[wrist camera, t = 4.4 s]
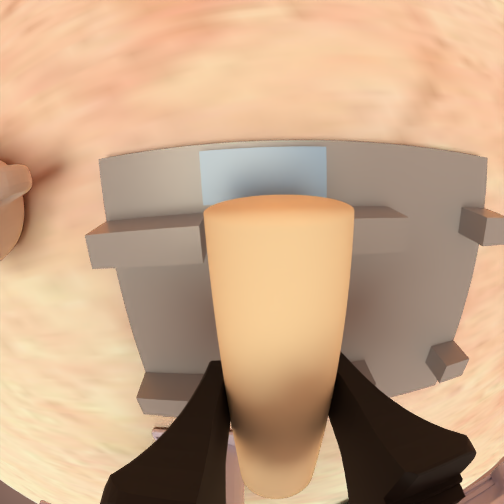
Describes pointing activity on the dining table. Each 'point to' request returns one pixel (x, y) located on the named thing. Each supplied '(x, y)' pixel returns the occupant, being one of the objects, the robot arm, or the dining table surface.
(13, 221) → the cup
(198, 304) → the board
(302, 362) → the tan tapered cylinder
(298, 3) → the dining table surface
